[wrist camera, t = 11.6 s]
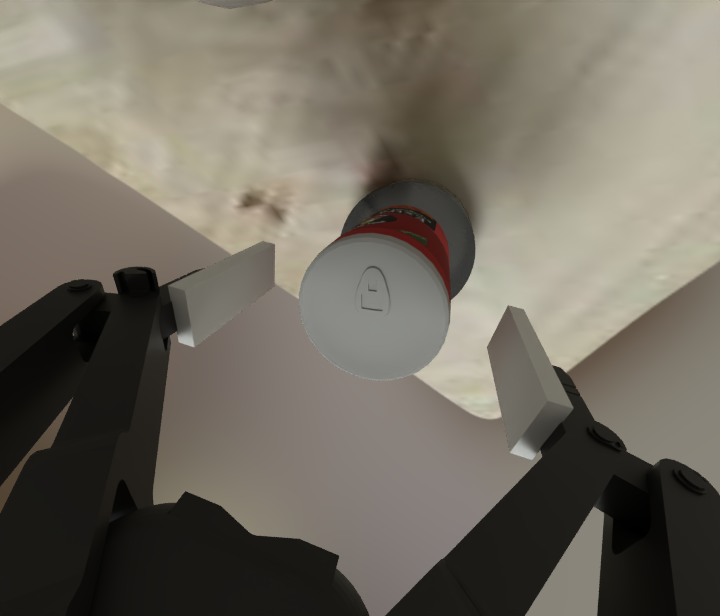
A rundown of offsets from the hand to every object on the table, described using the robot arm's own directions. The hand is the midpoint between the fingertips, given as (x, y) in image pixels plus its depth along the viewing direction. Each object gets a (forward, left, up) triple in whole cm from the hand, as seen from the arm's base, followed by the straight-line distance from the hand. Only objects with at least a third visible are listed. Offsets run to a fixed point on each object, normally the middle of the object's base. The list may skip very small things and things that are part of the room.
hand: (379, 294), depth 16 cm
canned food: (0, 0, -9) cm, 9 cm away
